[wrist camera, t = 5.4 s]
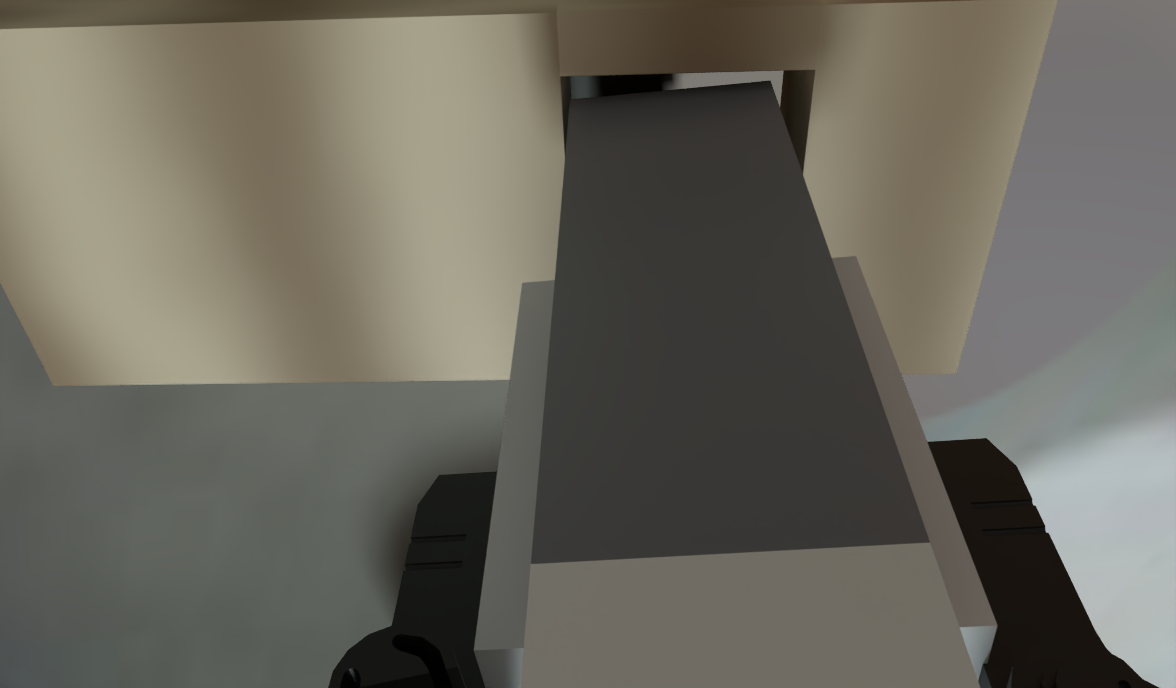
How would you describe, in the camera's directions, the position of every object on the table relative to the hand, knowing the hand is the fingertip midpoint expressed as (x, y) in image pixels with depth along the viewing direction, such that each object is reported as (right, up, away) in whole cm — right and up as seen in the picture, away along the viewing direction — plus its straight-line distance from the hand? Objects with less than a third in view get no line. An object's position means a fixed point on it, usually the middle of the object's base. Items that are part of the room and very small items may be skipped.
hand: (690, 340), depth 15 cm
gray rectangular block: (0, +3, +3) cm, 4 cm away
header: (-4, +4, +5) cm, 8 cm away
